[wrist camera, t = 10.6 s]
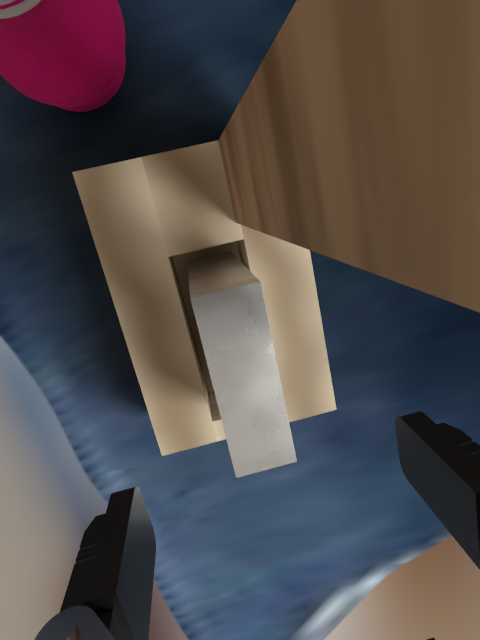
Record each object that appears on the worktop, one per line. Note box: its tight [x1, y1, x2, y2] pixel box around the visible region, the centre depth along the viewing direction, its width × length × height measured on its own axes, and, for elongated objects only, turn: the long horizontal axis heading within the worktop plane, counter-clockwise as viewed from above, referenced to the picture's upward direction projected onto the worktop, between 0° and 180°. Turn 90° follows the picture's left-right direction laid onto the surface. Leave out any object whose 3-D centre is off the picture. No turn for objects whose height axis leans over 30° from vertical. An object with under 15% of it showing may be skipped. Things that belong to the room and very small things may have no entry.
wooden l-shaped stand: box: [72, 0, 480, 456], centre depth 17 cm, size 12×18×28 cm, turn 12°
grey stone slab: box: [187, 251, 297, 478], centre depth 24 cm, size 3×9×12 cm, turn 12°
